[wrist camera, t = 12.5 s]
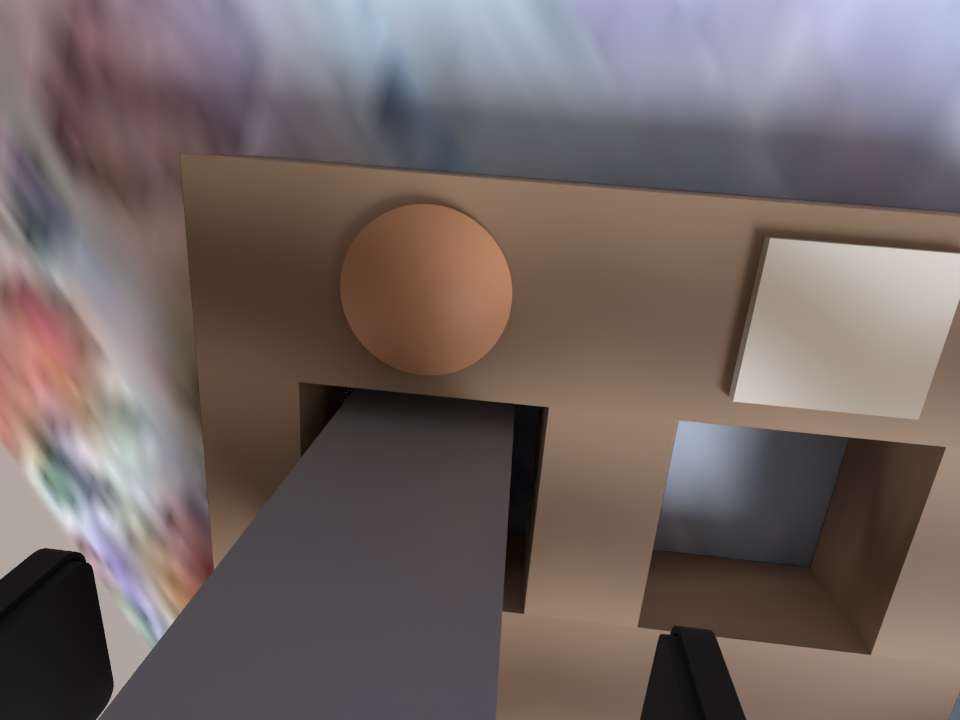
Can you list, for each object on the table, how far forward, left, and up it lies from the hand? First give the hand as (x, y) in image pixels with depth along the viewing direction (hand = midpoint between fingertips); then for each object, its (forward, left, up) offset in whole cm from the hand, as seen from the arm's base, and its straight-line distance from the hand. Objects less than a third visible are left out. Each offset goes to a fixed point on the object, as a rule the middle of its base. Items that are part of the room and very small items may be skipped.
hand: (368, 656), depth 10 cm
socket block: (+1, +4, -9) cm, 10 cm away
